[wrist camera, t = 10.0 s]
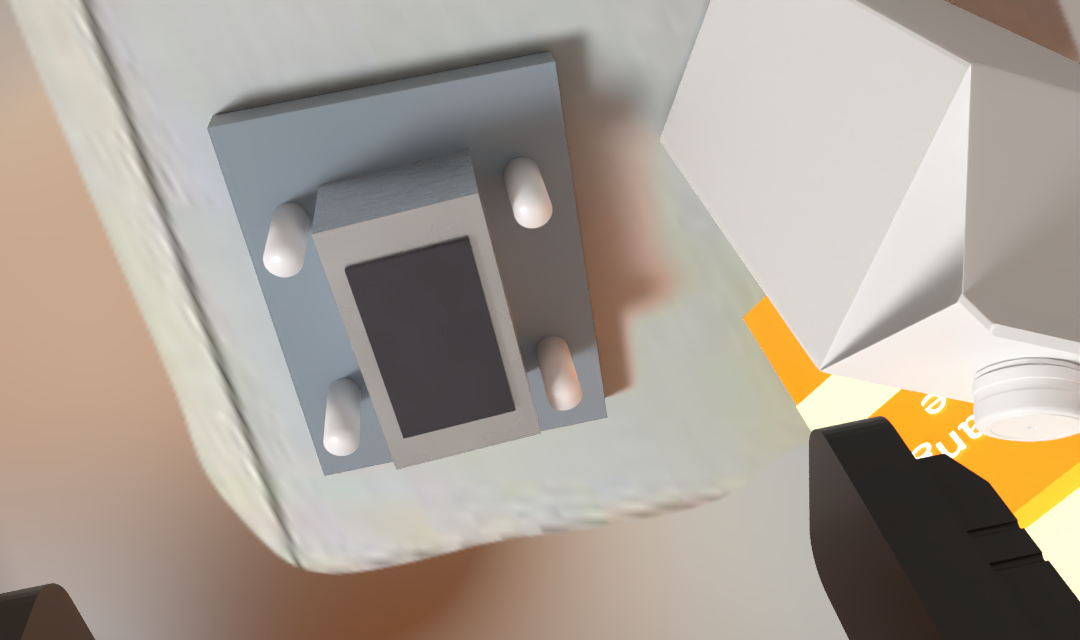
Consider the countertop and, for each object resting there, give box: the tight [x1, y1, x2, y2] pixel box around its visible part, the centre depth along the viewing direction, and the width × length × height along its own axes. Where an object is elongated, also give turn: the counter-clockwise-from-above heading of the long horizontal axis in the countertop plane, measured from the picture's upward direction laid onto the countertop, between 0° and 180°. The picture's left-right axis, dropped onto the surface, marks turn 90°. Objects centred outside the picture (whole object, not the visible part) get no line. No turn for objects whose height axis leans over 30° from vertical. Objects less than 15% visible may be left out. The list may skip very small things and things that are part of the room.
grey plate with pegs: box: [207, 51, 607, 476], centre depth 34 cm, size 14×11×4 cm
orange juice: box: [743, 296, 1080, 601], centre depth 31 cm, size 8×9×20 cm
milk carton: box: [660, 0, 1080, 442], centre depth 26 cm, size 7×7×19 cm
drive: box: [311, 148, 541, 469], centre depth 33 cm, size 9×5×4 cm, turn 12°
